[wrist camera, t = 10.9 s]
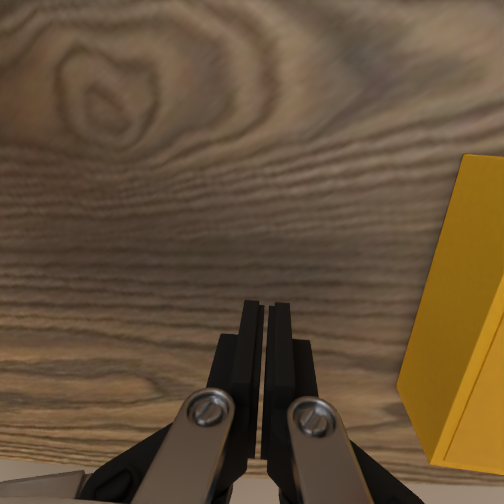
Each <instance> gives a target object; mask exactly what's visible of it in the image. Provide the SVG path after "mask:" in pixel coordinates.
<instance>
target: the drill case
mask: <svg viewBox="0 0 504 504" xmlns="http://www.w3.org/2000/svg"><path fill="white" fill-rule="evenodd" d="M396 387H397V390H398V392H399V394H400V397H401V399H402V401H403V404H404V406H405V408H406V411H407V413H408V415H409V418H410V420H411V422H412V425H413V427H414V429H415V432H416V434H417V436H418V439H419V441H420V443H421V445H422V448H423V450H424V452H425V455H426V457H427V459H428V462H429V464H430V465H437V466H444V467H451V468H458V469H465V470H472V471H479V472H486V473H494V474H501V475H504V157H503V156H487V155H472V154H464V155H463V159H462V162H461V165H460V169H459V172H458V176H457V179H456V182H455V186H454V189H453V193H452V196H451V200H450V203H449V206H448V210H447V213H446V217H445V220H444V223H443V227H442V230H441V234H440V237H439V241H438V244H437V247H436V251H435V254H434V258H433V261H432V264H431V268H430V271H429V275H428V278H427V282H426V285H425V288H424V292H423V295H422V299H421V302H420V305H419V309H418V312H417V316H416V319H415V323H414V326H413V329H412V333H411V336H410V340H409V343H408V347H407V350H406V353H405V357H404V360H403V364H402V367H401V370H400V374H399V377H398V381H397V384H396Z"/></svg>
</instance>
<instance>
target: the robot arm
mask: <svg viewBox="0 0 504 504" xmlns="http://www.w3.org/2000/svg"><path fill="white" fill-rule="evenodd" d="M264 307H265V305H259V301H252V300H245V302H244V307H243V312H242V318H241V323H240V329H239V334H238V335H235V334H222V333H221V335H220V338H219V341H218V345H217V349H216V352H215V356H214V360H213V363H212V367H211V371H210V375H209V378H208V382H207V386H206V388H202V389H199V390H197V391H195V392H193V393H192V394H191V395H189V396H188V397H187V398H186V400H185V401H184V403H183V404H182V406H181V408H180V410H179V412H178V414H177V416H176V418H175V420H174V422H172V423H171V424H169V425H167V426H166V427H164V428H162V429H161V430H159V431H158V432H156V433H154V434H153V435H151V436H149V437H148V438H146V439H145V440H143V441H141V442H140V443H138V444H136V445H135V446H133V447H132V448H130V449H128V450H127V451H125V452H123V453H122V454H120V455H118V456H117V457H115V458H114V459H112V460H110V461H109V462H107V463H105V464H104V465H103V466H101V467H100V468H99V469H97V470H96V471H95V472H94V473H91V474H85V472H84V470H80V471H73V472H65V473H59V474H51V475H44V476H36V477H29V478H22V479H15V480H8V481H3V482H0V504H229V502H230V498H231V494H232V490H233V483H234V482H235V481H236V480H237V479H238V478H239V477H241V476H242V475H243V474H244V473H245V472H246V470H247V461H248V458H253V459H255V446H256V431H257V417H258V402H259V387H260V372H261V357H262V340H263V323H264ZM260 459H263V460H267V473H268V475H269V476H270V477H271V479H272V480H273V481H274V482H275V483H276V485H277V486H278V487H279V501H280V504H424V502H423V501H422V500H421V499H420V498H419V497H418V496H416V495H415V494H414V493H413V492H412V491H411V490H409V489H408V488H407V487H406V486H405V485H403V484H402V483H401V482H400V481H399V480H397V479H396V478H395V477H394V476H393V475H392V474H390V473H389V472H388V471H387V470H386V469H384V468H383V467H382V466H381V465H380V464H378V463H377V462H376V461H375V460H374V459H372V458H371V457H370V456H369V455H368V454H367V453H365V452H364V451H363V450H362V449H361V448H359V447H358V446H357V445H356V444H355V443H353V442H352V441H351V440H350V439H349V438H348V435H347V432H346V430H345V427H344V425H343V422H342V419H341V417H340V415H339V413H338V412H337V410H336V409H335V408H334V407H333V406H332V405H331V404H330V403H328V402H327V401H325V400H324V399H321V398H319V396H318V389H317V383H316V376H315V370H314V363H313V357H312V350H311V344H310V341H309V340H300V339H292V330H291V315H290V303H280V302H275V306H269V316H268V331H267V346H266V361H265V378H264V398H263V418H262V438H261V458H260Z"/></svg>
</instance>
